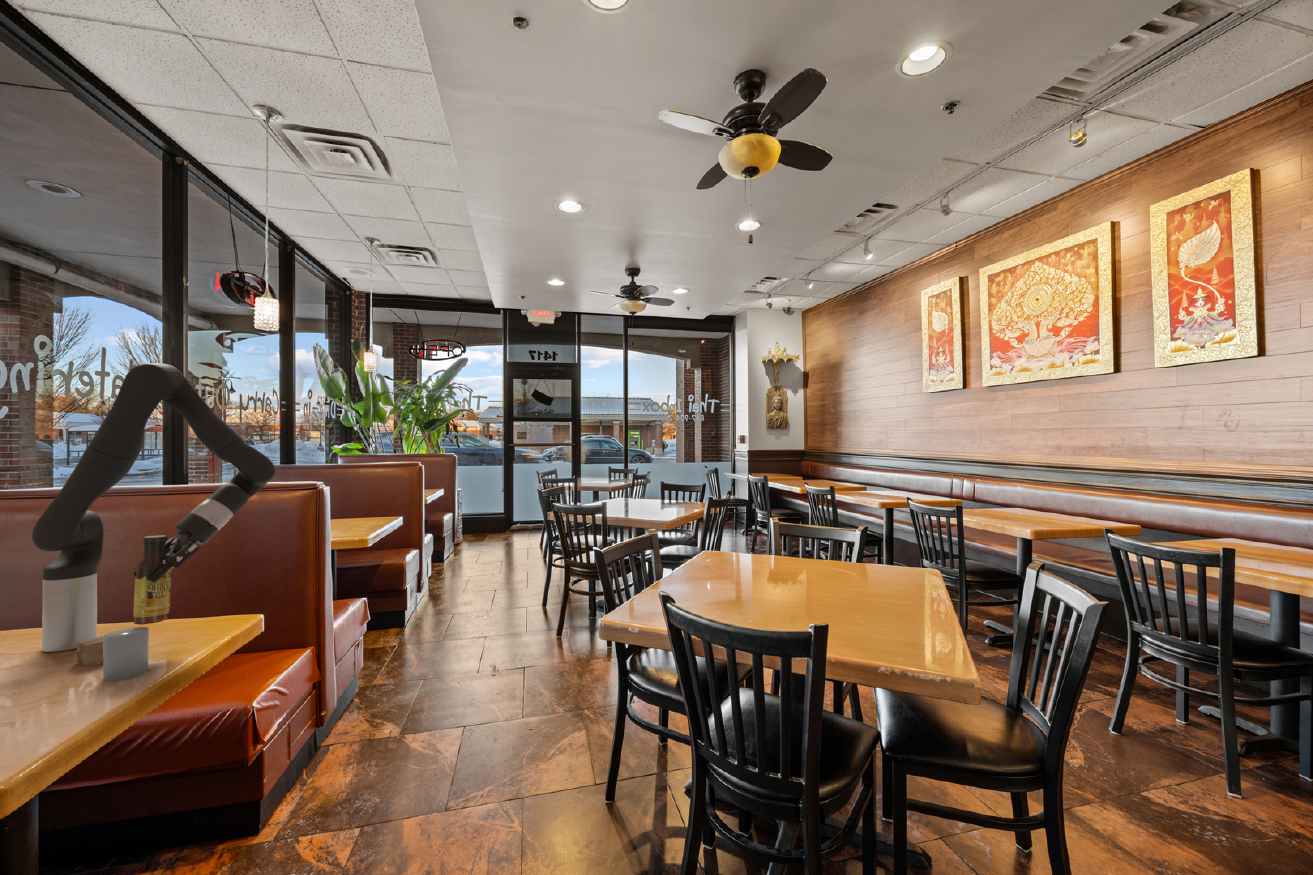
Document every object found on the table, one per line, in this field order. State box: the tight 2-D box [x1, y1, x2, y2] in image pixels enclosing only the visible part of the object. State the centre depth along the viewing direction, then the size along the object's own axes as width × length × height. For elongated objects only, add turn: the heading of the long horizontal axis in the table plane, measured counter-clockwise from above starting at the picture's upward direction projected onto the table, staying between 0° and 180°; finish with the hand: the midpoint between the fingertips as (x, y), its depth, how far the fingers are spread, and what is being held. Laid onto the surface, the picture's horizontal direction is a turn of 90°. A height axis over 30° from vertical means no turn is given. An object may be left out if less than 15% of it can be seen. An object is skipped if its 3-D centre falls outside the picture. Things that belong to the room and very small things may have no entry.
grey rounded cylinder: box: [102, 626, 150, 682], centre depth 116 cm, size 7×7×9 cm
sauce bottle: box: [132, 534, 172, 626], centre depth 127 cm, size 6×6×20 cm
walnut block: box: [76, 635, 104, 668], centre depth 124 cm, size 5×5×5 cm
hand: (143, 578), depth 125 cm, fingers closed on sauce bottle, 6 cm apart
